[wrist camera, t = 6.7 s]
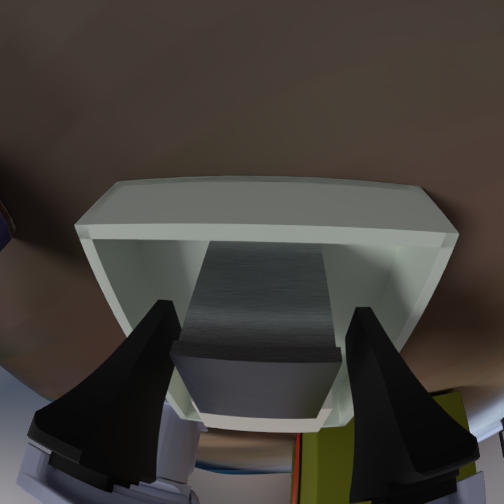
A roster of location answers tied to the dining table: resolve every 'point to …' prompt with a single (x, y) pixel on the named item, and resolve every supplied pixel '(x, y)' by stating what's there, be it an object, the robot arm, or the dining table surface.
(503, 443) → the french press
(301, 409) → the tin
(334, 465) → the gift box
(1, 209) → the flask
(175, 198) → the tote
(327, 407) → the egg box
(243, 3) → the dining table surface
